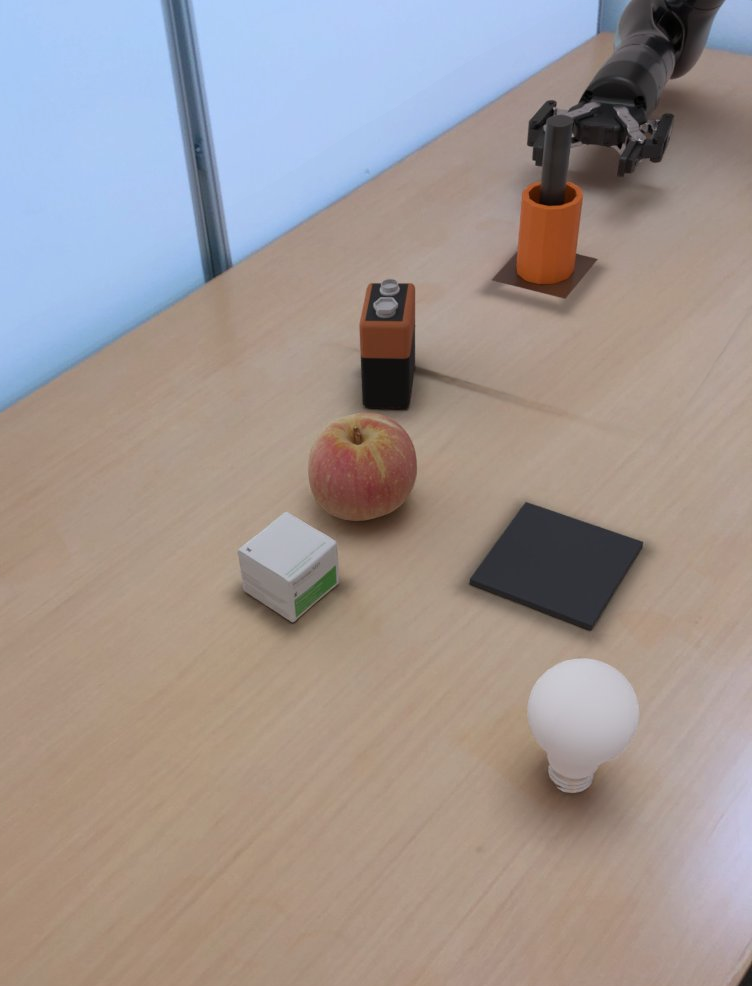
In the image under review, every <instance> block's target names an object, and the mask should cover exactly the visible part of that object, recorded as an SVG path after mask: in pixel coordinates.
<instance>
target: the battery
mask: <svg viewBox="0 0 752 986" xmlns="http://www.w3.org/2000/svg"><path fill="white" fill-rule="evenodd" d="M360 314H361V315H360V319H359V325H358V326H359V327H358V328H359V329H358V330H359V349H360V352H359V353H360V375H361V396H362V397H361V399H362V405H363V407H365V408H367V409H368V408H369V409H404V410H405V409H407V408H409V407H410V404H411V399H412V390H413V386H414V385H413V384H414V377H415V369H416V286H415V284H413V282H412V283H410V282H399V281H398V280H397V279H395V278H386V279H383V280H382V281H381V282H370V283H369V284H368V285H367V287H366V290H365V295H364V300H363V304H362V310H361V313H360Z"/></svg>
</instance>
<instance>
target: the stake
mask: <svg viewBox="0 0 752 986" xmlns="http://www.w3.org/2000/svg"><path fill="white" fill-rule="evenodd" d="M572 129H573V119H572V118H571V117H569V116H566V115H555V116H551V117H549V118H548V119H547V121H546V131H545V142H544V153H543V164H542V167H541V175H540V181H541V185H540V196H539V204H541V205H546V206H560V205H564V201H565V192H566V183H567V182H568V173H569V163H570V157H571V156H570V155H571V149H570V147H571V138H572V137H573V134H572ZM598 260H599V259H598V258H597V257H592V256H588V255H583V254H578V253H576V258H575V266H574V272H573V273H572V274H571V275H570V277H569V278H568V279H566V280H563V281H561V282H558V283H555V284H536V283H532V282H528V281H526V280H524V279H523V278H522V277H520V276H519V275H518V274H517V268H516V264H517V251H516V252H515V253H514V254H513V255H512V256H511V257H510V258H509V260H508V261H507V262H506V263H505V264H504V265H503V266H502V268H501V269H500V270H499V271H498V272H497V273H496V274H495V275H494V276H493V278H492V279H491V281H493V282H496V283H499V284H500V283H501V284H503V285H504V284H506V285H508V286H513V287H516V288H520V289H524V290H529V291H532V292H537V293H540V294H544V295H548V296H552V297H556V298H561V299H565V300H566V299H567V297H568V296H570V294H571V293H572V291H573V290H574V289H575V288H576V287H577V285H578V284H579V283H580V282H581V281H582V279H583V278H584V277H585V276H586V275H587V273H588V272H589V271H590V270H591V268H592V267H593V266H594V265H595V264H596V262H597V261H598Z"/></svg>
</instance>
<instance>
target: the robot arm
mask: <svg viewBox="0 0 752 986" xmlns="http://www.w3.org/2000/svg"><path fill="white" fill-rule="evenodd" d="M725 2H726V0H630V1H629V2H628V3H627V5H626V6H625V8H624V9H623V10H622V12H621V14H620V17H619V20H618V22H617V25H616V27H615V31H614V37H613V53H612V54H611V56H610V57H608V58H607V59H606V60H605V61H604V63H603V64H602V65H601V67H600V68H599V69H598V71H597V72H596V73H595V75H594V76H593V78H592V80H591V81H590V82H589V84H588V85H587V87H586V88H585V89H584V91H583V92H582V95H581V97H580V98H579V100H578V103H577V104H575V105H573V106H571V107H570V108H568V109H564V108H558V107H557V104H558V101H556V100H553V99H550V100H549V99H548V100H546V101H545V102H544V103H543V105H541V107H540V108H539V109H538V110H537V111H536V113H535V114H533V116H532V117H531V118H530V119H529V120H528V127H527V136H526V137H527V138H526V139H527V140H526V146H527V147H529V148H532V155H531V160H532V161H534V162H535V163H534V166H535V167H541V168H542V164H543V153H544V142H545V131H546V121H547V119H548V118H549V117H551V116H555V115H566V116H569V117H571V118H572V119H573V129H572V138H571V147H570V150H571V149H573V148H576V147H579V146H582V145H586V146H590V145H591V146H592V145H593V146H594V145H596V146H601V147H605V148H611V149H614V150H615V151H616V152H617V153H618V155H619V156H620V157H619V160H618V166H617V173H616V177H617V178H622V179H625V178H626V176H627V174H630V175H631V174H632V173H634V172H635V171H636V169H637V167H638V165H639V164H640V163H642V162H643V161H644V159H645V160H646V159H648V160H649V162H650V163H654V164H658V163H661V162H662V160H663V159H664V155H665V154H666V150H667V148H668V145H669V143H670V141H671V136H672V131H673V125H674V119H675V115H674V113H668V112H667V113H663V114H662V115H661V117H660V118H656V119H650V117H651V116H652V114H653V112H654V111H655V110H656V109H657V107H658V105H659V103H660V101H661V97H662V95H663V92H664V89H665V87H666V86H667V84H668V82H669V81H671V80H677V79H680V78H682V77H685V76H686V75H687V74H688V73H690V71H691V70H692V69H693V68H694V67H695V66H696V65H697V63H698V61H699V60H700V58H701V56H702V54H703V53H704V50H705V48H706V45H707V42H708V41H709V37H710V33H711V30H712V26H713V24H714V21H715V18H716V17H717V14H718V12H719V11H720V9H721V8H722V7H723V5H724V3H725ZM646 133H648V134H649V137H651V138H648V139H647V136H646V135H645V134H646Z"/></svg>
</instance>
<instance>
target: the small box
mask: <svg viewBox="0 0 752 986" xmlns="http://www.w3.org/2000/svg"><path fill="white" fill-rule="evenodd" d="M237 557H238V562H239V563H238V564H239V568H240V574H241V575H240V576H241V581H242V588H243V591H244V592H245V593H246V594H248V595H249V596H250V597H252V598H254V599H255V600H257V601H258V602H260V603H261V604H263V605H264V606H266V607H268V608H269V609H270V610H271V611H274V612H275V613H276V614H278V615H279V616H281V617H283V618H284V619H285V620H287V621H289V622H290V623H294V622H296V621H297V620H298V619H299V618H300V617H301V616H303V614H305V613H306V612H307V611H308V610H309V609H310V608H312V607H313V606H314V605H315V604H316V603H318V601H320V600H321V599H322V598H324V596H326V595H327V594H329V592H330V591H331V590H333V589H334V588H336V587H337V586H338V585H339V584H340V572H339V569H340V567H339V553H338V541H336V540H335V539H334V538H332V537H330V536H328V535H327V534H325V533H324V532H322V531H320V530H319V529H317V528H315V527H314V526H311V525H310V524H309V523H306V522H304V521H303V520H301V519H300V518H298V517H296V516H295V515H293V514H292V513H290V512H289V511H284V512H283V513H282V514H281V515H279V516H278V517H277V518H275V519H274V520H273V521H272V522H271V523H269V524H268V525H267V526H266V527H265V528H263V529H262V530H261V531H260V532H258V533H257V534H256V535H255V536H253V537H252V538H250V539H249V540H248V541H246V543H244V544H243V545H242V546H241V547H239V548H238V549H237Z"/></svg>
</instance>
